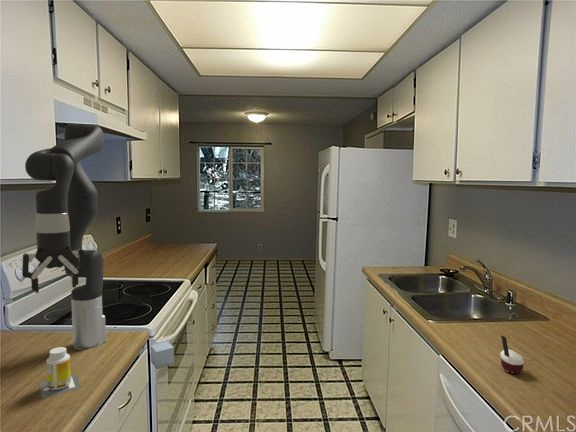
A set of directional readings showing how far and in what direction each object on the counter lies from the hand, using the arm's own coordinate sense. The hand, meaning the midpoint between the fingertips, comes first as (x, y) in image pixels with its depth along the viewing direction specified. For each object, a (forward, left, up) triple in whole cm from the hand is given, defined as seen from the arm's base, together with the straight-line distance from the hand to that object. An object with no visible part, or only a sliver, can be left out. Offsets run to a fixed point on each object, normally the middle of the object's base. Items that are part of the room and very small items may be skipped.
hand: (55, 289), depth 101 cm
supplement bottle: (0, 0, -28) cm, 28 cm away
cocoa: (-80, +108, -28) cm, 138 cm away
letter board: (0, 0, -28) cm, 28 cm away
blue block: (-25, +12, -28) cm, 40 cm away
